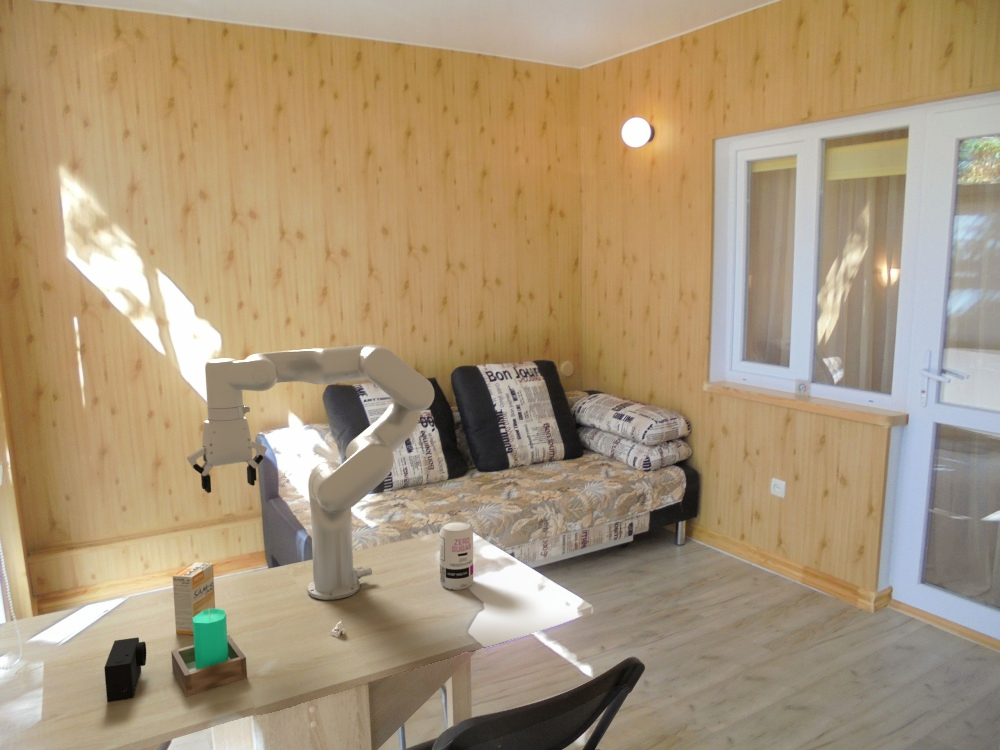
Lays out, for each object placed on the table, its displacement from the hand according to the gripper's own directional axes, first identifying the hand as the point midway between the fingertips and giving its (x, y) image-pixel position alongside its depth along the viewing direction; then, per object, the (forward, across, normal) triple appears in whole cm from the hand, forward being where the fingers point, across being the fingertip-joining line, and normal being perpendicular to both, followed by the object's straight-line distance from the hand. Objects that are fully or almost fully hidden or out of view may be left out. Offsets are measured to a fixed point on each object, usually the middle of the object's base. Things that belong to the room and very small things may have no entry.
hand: (229, 487), depth 169 cm
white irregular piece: (+29, -13, +26) cm, 41 cm away
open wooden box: (+28, +13, +27) cm, 41 cm away
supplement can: (+28, -48, +20) cm, 59 cm away
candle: (+27, +12, +27) cm, 40 cm away
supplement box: (+28, +10, +5) cm, 31 cm away
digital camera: (+29, +26, +22) cm, 45 cm away
